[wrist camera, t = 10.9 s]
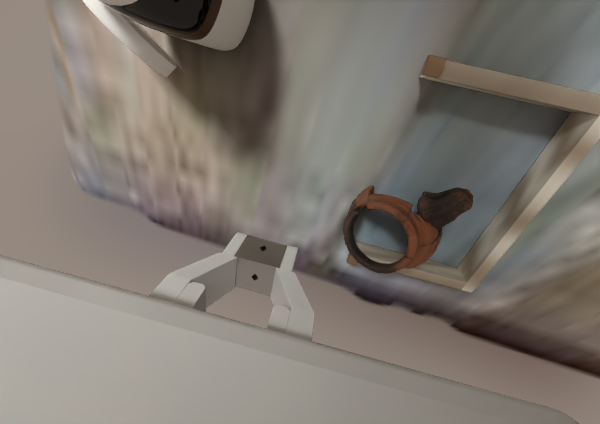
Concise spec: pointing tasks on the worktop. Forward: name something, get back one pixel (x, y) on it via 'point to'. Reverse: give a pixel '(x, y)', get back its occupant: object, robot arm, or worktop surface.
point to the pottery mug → (409, 224)
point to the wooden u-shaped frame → (535, 184)
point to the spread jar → (174, 24)
